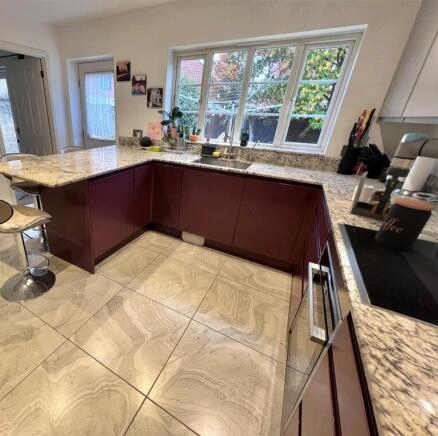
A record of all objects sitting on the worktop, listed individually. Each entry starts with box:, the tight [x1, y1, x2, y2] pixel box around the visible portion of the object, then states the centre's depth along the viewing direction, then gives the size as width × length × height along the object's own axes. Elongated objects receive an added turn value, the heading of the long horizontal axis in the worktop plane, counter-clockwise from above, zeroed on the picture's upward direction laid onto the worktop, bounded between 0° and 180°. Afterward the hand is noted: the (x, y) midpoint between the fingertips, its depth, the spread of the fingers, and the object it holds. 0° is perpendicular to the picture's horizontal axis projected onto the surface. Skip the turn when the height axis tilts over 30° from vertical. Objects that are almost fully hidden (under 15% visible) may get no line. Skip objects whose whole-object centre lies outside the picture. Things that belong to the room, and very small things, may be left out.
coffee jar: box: [374, 197, 437, 252], centre depth 90 cm, size 11×11×18 cm
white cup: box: [351, 183, 375, 203], centre depth 139 cm, size 8×8×10 cm
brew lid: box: [350, 171, 369, 209], centre depth 123 cm, size 16×19×1 cm
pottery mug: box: [369, 190, 392, 205], centre depth 140 cm, size 12×10×8 cm
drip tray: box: [350, 201, 390, 222], centre depth 122 cm, size 15×19×3 cm
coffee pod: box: [371, 202, 390, 216], centre depth 119 cm, size 6×6×5 cm
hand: (378, 212), depth 120 cm, fingers closed on coffee pod, 6 cm apart
